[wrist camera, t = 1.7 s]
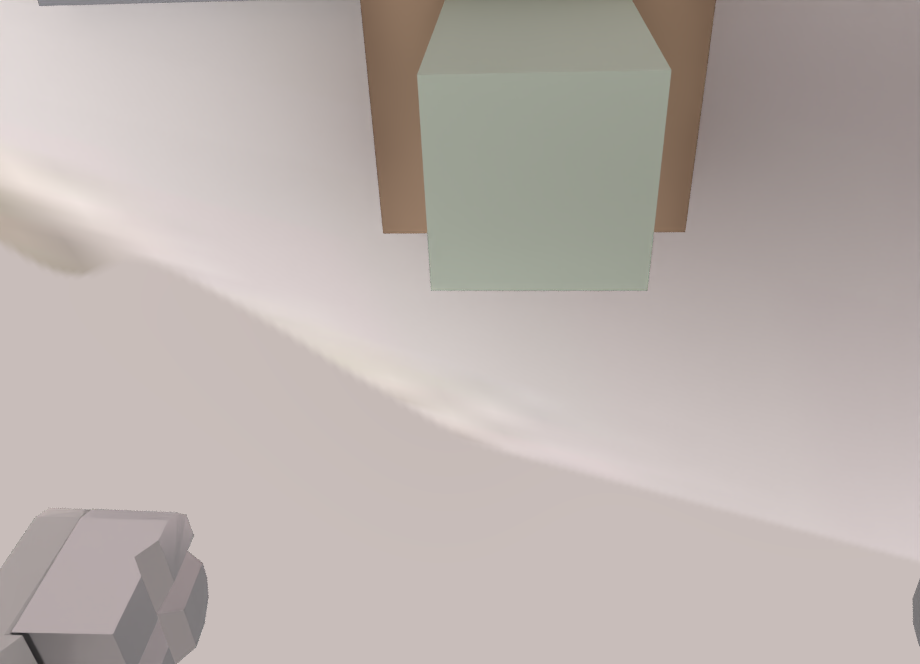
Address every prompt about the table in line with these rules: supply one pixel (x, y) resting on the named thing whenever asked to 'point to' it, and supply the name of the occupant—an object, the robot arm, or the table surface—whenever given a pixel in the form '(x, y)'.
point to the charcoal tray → (113, 1)
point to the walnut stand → (398, 119)
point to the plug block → (541, 145)
